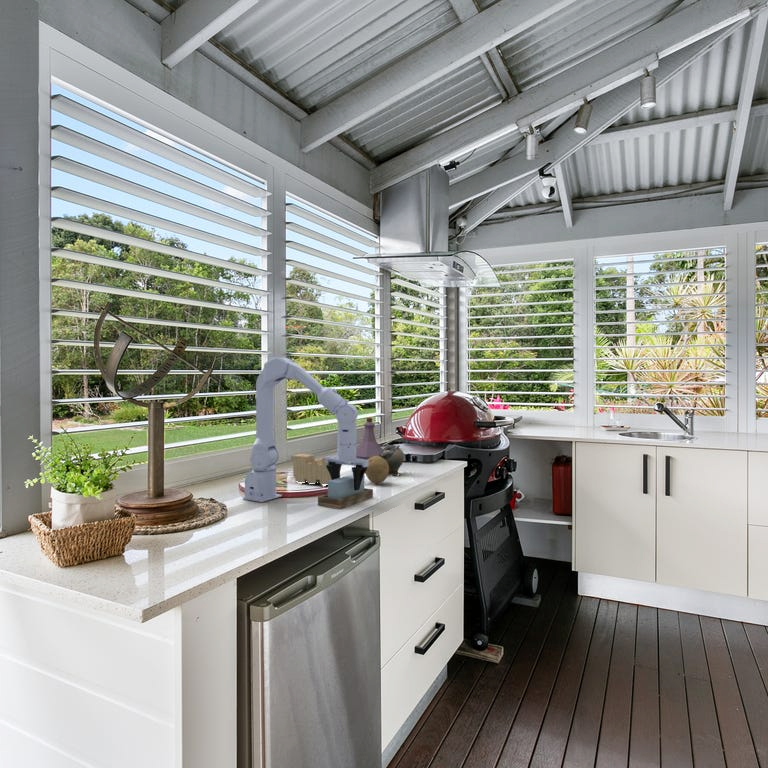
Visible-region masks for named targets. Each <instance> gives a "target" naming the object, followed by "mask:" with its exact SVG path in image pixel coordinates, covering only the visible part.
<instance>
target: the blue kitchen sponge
mask: <svg viewBox="0 0 768 768" xmlns="http://www.w3.org/2000/svg"><path fill="white" fill-rule="evenodd" d="M365 476H366V474H364V476H363V479H362V482H361V485H360V489H359V490H354V477H353V474H350V475H346V476H342V477H340V478H338V479H334V480H331V481H328V486H327V494H328V498H335V499H342V498H345V497H348V496H351V495H354V494H357V493H360V492H363V491H364V488H365V482H366V481H365Z"/></svg>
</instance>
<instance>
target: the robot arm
mask: <svg viewBox="0 0 768 768" xmlns="http://www.w3.org/2000/svg"><path fill="white" fill-rule="evenodd" d="M285 379H290V380H296V381H298V382H299V383H301V385H303V386H304V387H305V388H307V389H308V390H309V391H311V392H312V393H313V394H314V395H316V396H317V402H318V403H319V404H320V405H321V406H322V407H324V409H326V410H327V411H328V412H330V413H331V414H332V415H334V416H335V418H336V421H337V422H338V423H337V447H336V448H337V451H336V452H337V454H336V455H337V456H334V455H326V456H325V457H326V463H329V464H328V465H326V468H327V469H328V471H329V473H330V476H331V479H332V480H334V479H338V478H341V477H340V476H341V469H342V466H343V465H346V466H352V467H351V470H352V475H353V477H354V490H359V489H360V485H361V482H362V479H363V476H364V475H366V474H365V472H366V470H367V467H368V466H369V460H365V459H360V458H356V448H357V418H358V415H359V411H358V408H357V407H356V406H355V404H353V403H350V402H349V399H346V398H344V397H342V396H341V395H340V394H339V393H338V390H337V389H336V388H331V387H330V386H329V387H325V386H323V385H322V384H320V382H318V381H317V380H316V378H314V377H313V376H312V375H311V374H310V373H308V372H307V371H306V370H305V369H304V368H303V367H302V366H301V365H300V364H298V363H296V362H294V361H293V359H290V358H289V357H280V356H274V357H271V358H270V359H269V360H267V361H266V362H265V363H264V364H263V368H262V370H261V372H260V373H259V375H258V377H257V379H256V382H255V391H256V392H255V394H256V395H255V403H256V404H255V412H256V413H255V415H256V416H255V422H256V423H255V424H256V426H255V427H256V428H255V430H256V431H255V432H256V433H255V434H256V437H255V440H254V442H253V445H252V451H251V453H250V455H249V463H250V466H251V467H252V470H251V471H250V472H248V473H247V474H246V475H245V478H244V496H243V497H242V499H243V500H246V501H254V502H260V503H263V502H268V501H270V500H274V499H277V498H281V497H282V496H283V495H282V494H279V493H277V465H276V463H277V462H278V461H279V459H280V454H279V451H278V449H277V443H276V440H275V438H274V388H275V387H276V386H277V385H278V384H279V383H280V382H281V381H283V380H285Z"/></svg>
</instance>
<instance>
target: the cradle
mask: <svg viewBox="0 0 768 768" xmlns="http://www.w3.org/2000/svg"><path fill="white" fill-rule="evenodd" d="M373 497H374V489H372V488H365V487H364V491H363V492H360V493H357V494H354V495H351V496H348V497H345V498H342V499H335V498H328V493H326V494H322V495H320V496H318V497H317V506H319V507H325V508H331V509H332V508H333V509H339V510H341V509H344V508H347V507H350V506H352V505H355V504H357V503H358V504H359V503H361V502H363V501H365V500H366V501H367V500H369V499H370V500H371V499H372V498H373Z"/></svg>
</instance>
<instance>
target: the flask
mask: <svg viewBox="0 0 768 768" xmlns="http://www.w3.org/2000/svg"><path fill="white" fill-rule="evenodd" d="M363 426H364V434H363V437H362V440H361V442H359V444H358V445H357V446H356V458H360V459H365V460H368V459H369V458H371V457H373V456H379V454H380V452H381V451H382V450H383V449H384V448H382V447H381V445H380V444H379V443H378V442H377V439H376V436H375V430H374V429H375V426H376V424H375V423H374V422H373V417H366V422H365V423H363Z"/></svg>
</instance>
